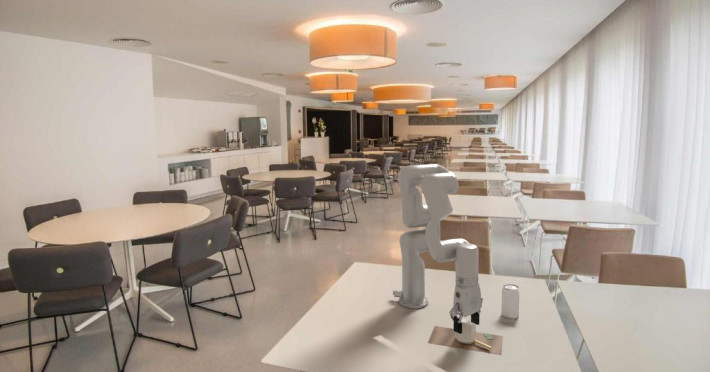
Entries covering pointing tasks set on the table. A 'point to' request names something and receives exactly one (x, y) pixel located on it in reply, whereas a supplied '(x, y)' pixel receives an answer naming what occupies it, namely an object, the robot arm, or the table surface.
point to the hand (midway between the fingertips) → (466, 327)
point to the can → (510, 301)
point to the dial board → (448, 339)
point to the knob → (469, 334)
